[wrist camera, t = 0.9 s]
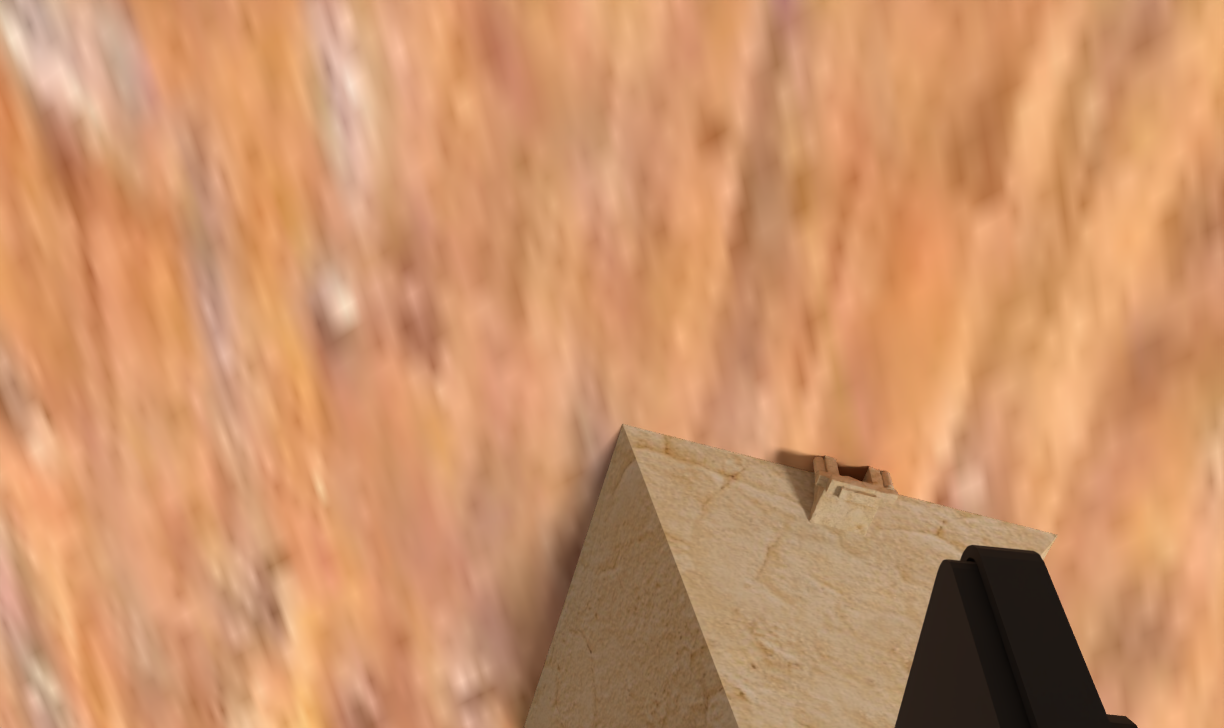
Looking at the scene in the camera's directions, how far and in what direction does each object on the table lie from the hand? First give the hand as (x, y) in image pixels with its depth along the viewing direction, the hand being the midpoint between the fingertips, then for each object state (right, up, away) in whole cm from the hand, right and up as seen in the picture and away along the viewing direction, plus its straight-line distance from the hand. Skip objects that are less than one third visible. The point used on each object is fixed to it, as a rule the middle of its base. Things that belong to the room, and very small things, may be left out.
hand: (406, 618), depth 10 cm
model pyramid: (+8, -8, +35) cm, 37 cm away
